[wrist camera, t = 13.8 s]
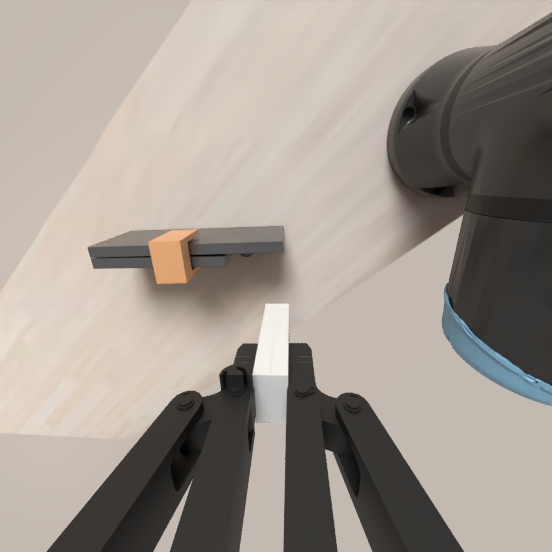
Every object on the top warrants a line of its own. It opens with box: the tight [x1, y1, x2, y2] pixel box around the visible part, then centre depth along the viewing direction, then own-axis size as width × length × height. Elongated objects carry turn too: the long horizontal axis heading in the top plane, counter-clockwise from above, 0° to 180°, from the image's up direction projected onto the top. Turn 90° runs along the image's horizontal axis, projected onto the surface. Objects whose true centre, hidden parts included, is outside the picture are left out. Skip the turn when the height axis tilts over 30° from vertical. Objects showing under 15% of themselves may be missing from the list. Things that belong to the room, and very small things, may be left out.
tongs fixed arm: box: [87, 226, 284, 258], centre depth 33 cm, size 22×3×9 cm, turn 92°
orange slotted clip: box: [148, 229, 201, 284], centre depth 30 cm, size 3×4×6 cm
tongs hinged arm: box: [91, 254, 233, 269], centre depth 33 cm, size 15×1×9 cm, turn 91°
